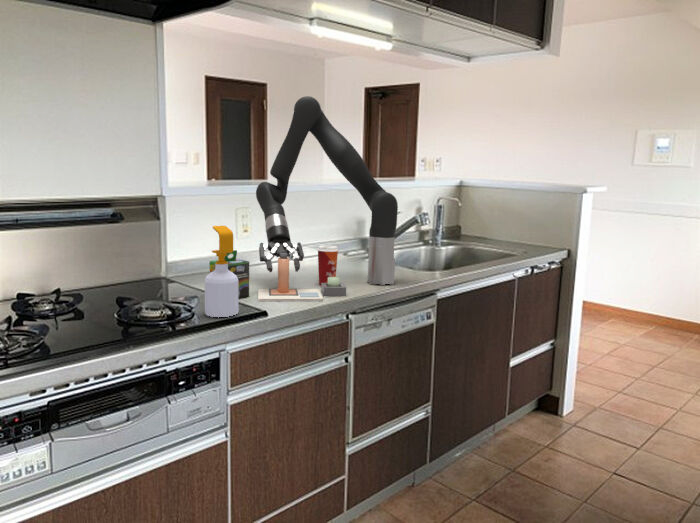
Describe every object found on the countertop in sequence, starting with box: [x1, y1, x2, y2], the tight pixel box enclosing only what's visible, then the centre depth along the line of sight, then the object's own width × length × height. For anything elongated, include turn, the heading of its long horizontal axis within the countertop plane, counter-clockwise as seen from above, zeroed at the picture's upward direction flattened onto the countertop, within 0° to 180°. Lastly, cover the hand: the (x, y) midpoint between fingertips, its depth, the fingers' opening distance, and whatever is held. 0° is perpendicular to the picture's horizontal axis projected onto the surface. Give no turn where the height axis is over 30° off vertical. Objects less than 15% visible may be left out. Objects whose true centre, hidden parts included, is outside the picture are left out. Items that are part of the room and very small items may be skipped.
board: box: [257, 288, 324, 302], centre depth 184 cm, size 20×14×1 cm
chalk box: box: [209, 249, 250, 299], centre depth 180 cm, size 9×9×15 cm
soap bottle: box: [204, 225, 239, 319], centre depth 157 cm, size 9×9×25 cm
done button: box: [328, 276, 341, 287], centre depth 188 cm, size 4×4×4 cm
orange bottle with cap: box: [277, 253, 290, 293], centre depth 184 cm, size 4×4×13 cm
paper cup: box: [316, 244, 340, 285], centre depth 201 cm, size 8×8×14 cm
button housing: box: [320, 282, 347, 297], centre depth 189 cm, size 7×7×3 cm
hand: (284, 270), depth 183 cm, fingers open, 8 cm apart
